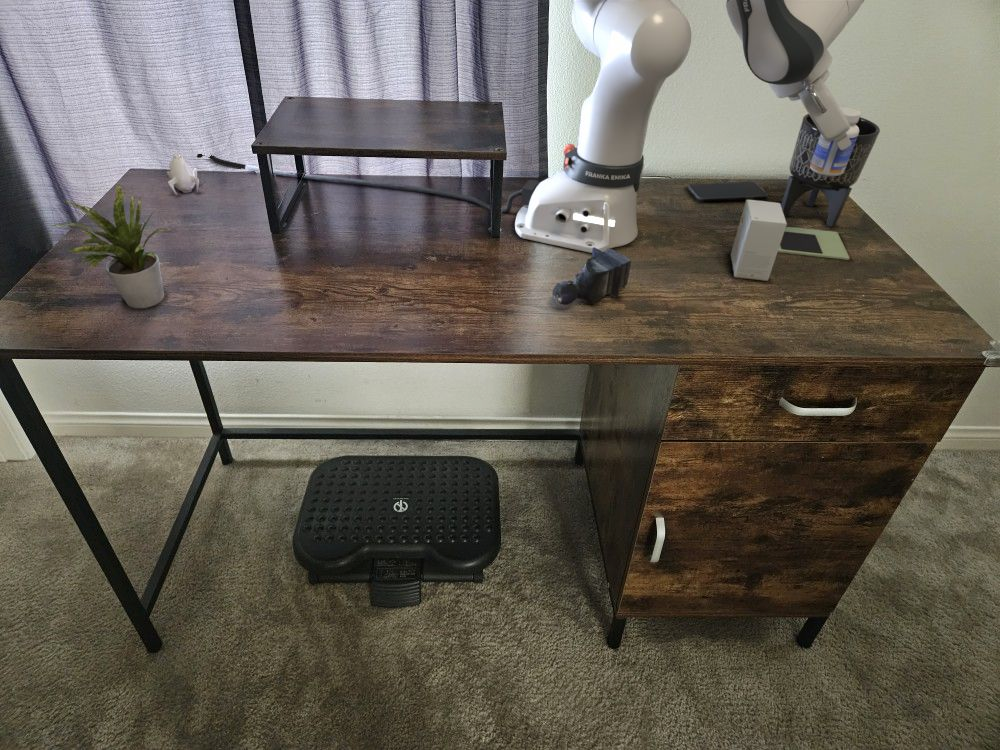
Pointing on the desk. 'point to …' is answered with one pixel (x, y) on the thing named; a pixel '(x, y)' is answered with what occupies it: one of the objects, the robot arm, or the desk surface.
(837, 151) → the pill bottle
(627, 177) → the robot arm
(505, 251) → the desk surface
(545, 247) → the desk surface
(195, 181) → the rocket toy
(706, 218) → the desk surface
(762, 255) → the small box
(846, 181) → the planter
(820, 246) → the felt pad
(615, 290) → the dark statue fragment
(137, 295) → the house plant
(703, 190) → the smartphone
